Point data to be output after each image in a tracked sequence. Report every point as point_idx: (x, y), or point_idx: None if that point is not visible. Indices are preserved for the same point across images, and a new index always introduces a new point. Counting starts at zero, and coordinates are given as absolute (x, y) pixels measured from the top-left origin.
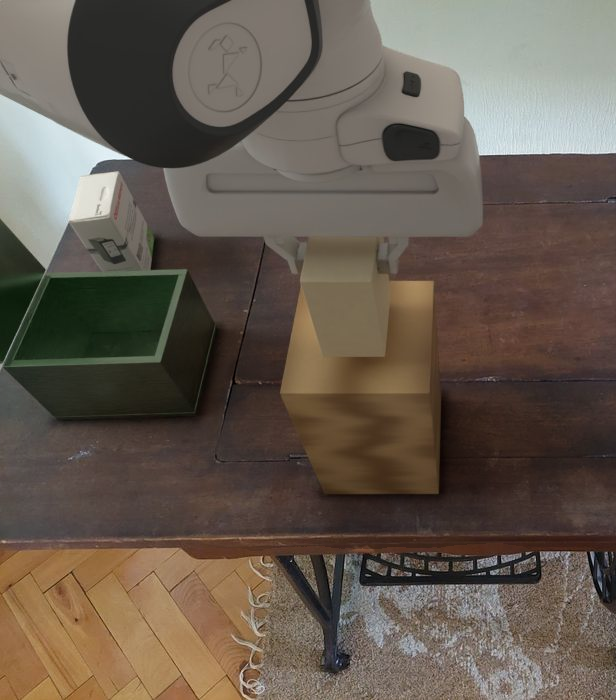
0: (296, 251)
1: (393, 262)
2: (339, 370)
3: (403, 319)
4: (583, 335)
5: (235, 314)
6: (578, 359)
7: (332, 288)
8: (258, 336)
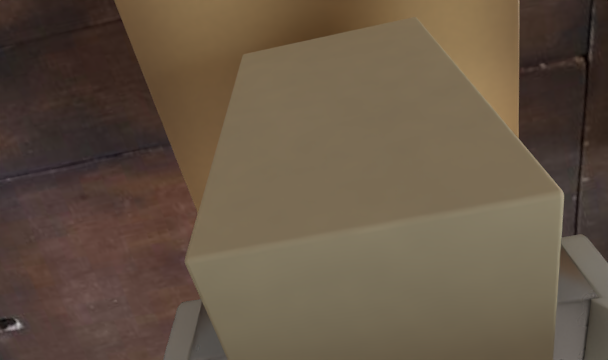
0: (593, 335)
1: (171, 352)
2: (368, 4)
3: None
4: (89, 232)
5: (600, 170)
6: (82, 196)
7: (384, 192)
8: (558, 142)
